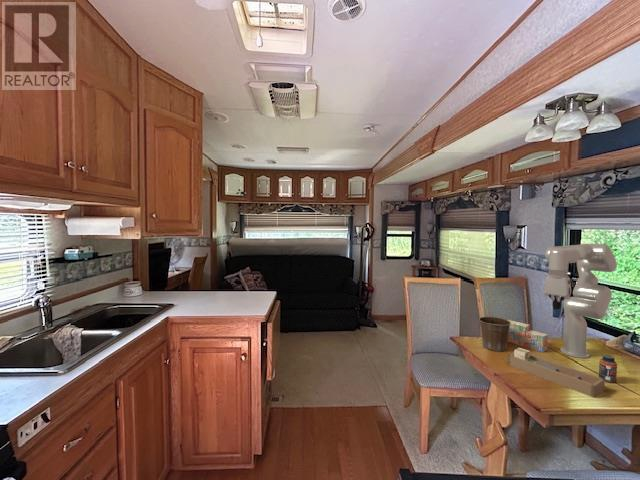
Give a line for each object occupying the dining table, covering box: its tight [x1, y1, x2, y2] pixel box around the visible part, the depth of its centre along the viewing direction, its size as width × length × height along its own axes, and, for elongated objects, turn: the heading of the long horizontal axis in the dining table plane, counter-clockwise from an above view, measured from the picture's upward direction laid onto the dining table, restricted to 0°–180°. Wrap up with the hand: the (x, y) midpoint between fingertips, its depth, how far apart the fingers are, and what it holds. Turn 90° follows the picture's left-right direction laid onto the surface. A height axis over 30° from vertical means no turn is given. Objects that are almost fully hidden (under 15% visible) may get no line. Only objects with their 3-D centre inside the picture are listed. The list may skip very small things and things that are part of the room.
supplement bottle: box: [598, 354, 618, 384], centre depth 139 cm, size 6×6×11 cm
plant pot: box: [478, 316, 511, 352], centre depth 176 cm, size 16×16×16 cm
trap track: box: [507, 352, 606, 398], centre depth 143 cm, size 11×34×5 cm, turn 31°
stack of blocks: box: [507, 319, 549, 353], centre depth 180 cm, size 21×6×12 cm, turn 32°
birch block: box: [513, 347, 531, 361], centre depth 154 cm, size 5×5×5 cm
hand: (556, 308), depth 154 cm, fingers closed
